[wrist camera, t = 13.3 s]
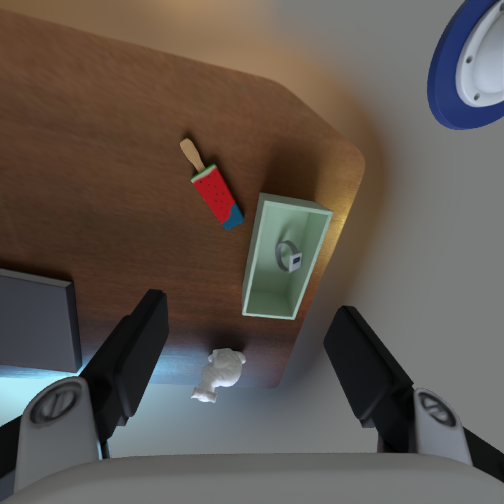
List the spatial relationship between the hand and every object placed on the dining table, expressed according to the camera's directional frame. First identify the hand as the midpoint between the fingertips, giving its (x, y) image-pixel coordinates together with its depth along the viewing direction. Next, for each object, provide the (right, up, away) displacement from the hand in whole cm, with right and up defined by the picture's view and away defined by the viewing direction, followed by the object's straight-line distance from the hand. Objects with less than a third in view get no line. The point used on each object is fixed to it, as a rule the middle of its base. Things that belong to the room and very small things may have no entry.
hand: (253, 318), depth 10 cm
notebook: (-51, -12, +32) cm, 61 cm away
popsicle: (-7, +15, +21) cm, 27 cm away
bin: (+4, +4, +27) cm, 28 cm away
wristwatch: (+5, +4, +26) cm, 27 cm away
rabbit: (-9, -25, +41) cm, 48 cm away
